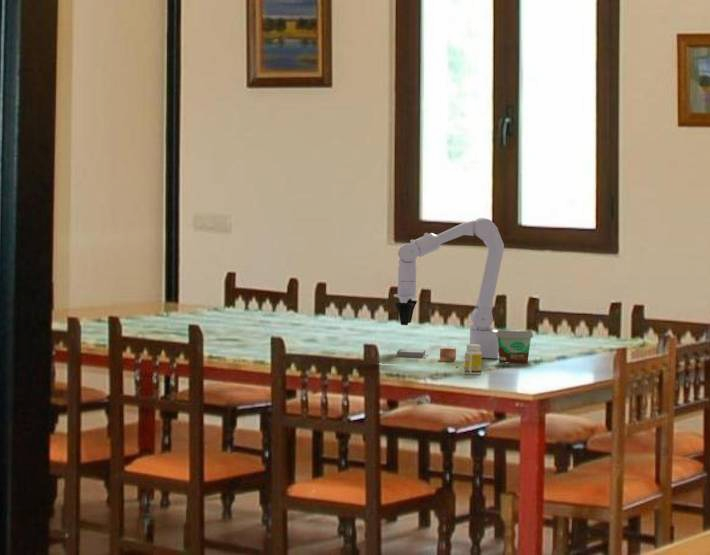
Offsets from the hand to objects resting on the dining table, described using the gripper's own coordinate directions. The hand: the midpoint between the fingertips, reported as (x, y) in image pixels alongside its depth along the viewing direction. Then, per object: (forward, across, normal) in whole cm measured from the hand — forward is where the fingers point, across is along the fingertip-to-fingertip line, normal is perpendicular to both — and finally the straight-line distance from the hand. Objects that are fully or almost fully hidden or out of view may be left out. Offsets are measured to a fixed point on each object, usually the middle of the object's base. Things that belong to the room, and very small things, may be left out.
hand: (405, 323), depth 441 cm
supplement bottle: (+10, +37, +24) cm, 46 cm away
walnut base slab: (+11, +7, +3) cm, 13 cm away
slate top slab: (+9, +7, +3) cm, 12 cm away
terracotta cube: (+10, +13, +15) cm, 22 cm away
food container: (+10, +6, +36) cm, 38 cm away
